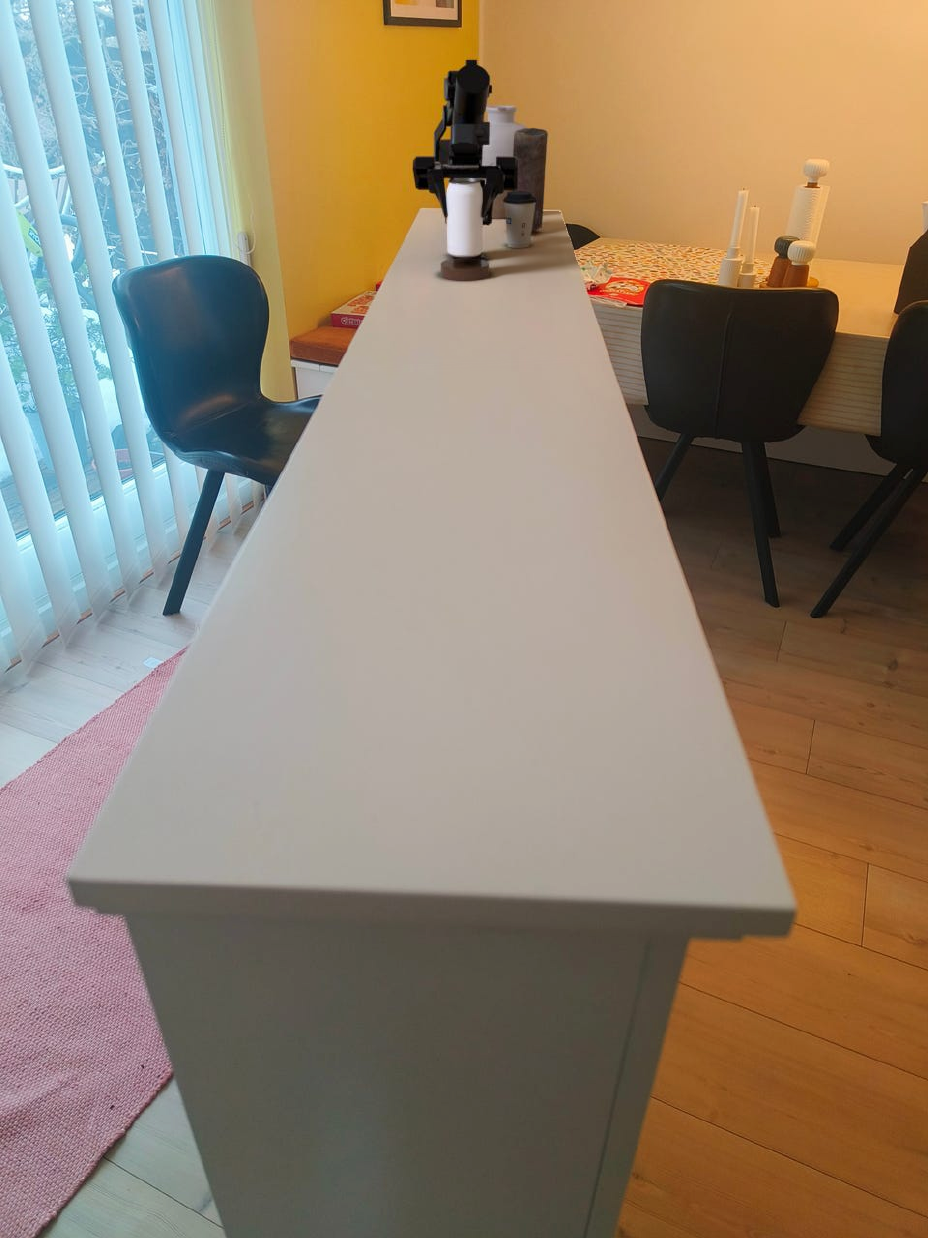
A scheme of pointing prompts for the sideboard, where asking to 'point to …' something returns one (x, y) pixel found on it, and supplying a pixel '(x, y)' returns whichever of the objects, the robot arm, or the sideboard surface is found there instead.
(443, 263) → the coaster
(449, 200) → the can
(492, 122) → the vase
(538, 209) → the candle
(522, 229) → the coffee cup
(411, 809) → the sideboard surface
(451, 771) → the sideboard surface
